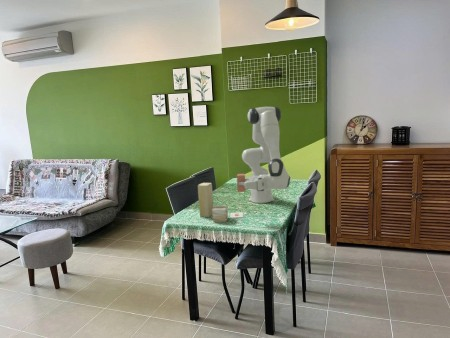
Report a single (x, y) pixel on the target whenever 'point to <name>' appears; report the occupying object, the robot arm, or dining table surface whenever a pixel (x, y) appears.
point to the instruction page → (236, 215)
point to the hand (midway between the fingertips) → (239, 181)
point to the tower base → (220, 218)
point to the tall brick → (242, 178)
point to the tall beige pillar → (205, 199)
